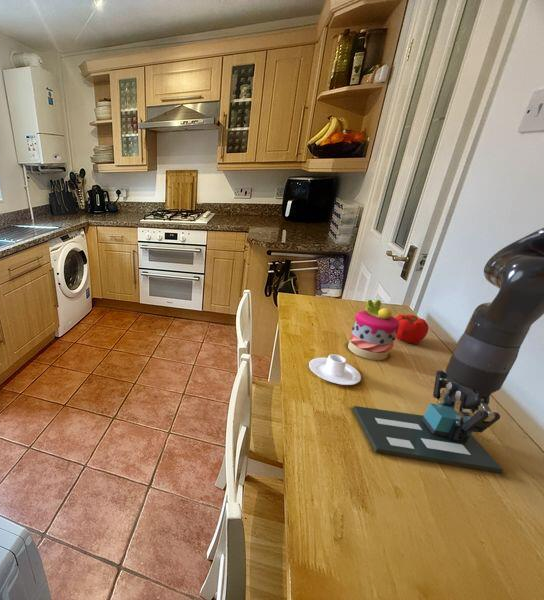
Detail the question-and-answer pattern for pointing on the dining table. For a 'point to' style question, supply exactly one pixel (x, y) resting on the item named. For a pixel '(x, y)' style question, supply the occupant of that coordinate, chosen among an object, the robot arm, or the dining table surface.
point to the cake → (373, 332)
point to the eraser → (441, 419)
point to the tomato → (411, 328)
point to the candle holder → (335, 370)
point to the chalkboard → (420, 440)
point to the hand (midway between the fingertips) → (446, 430)
